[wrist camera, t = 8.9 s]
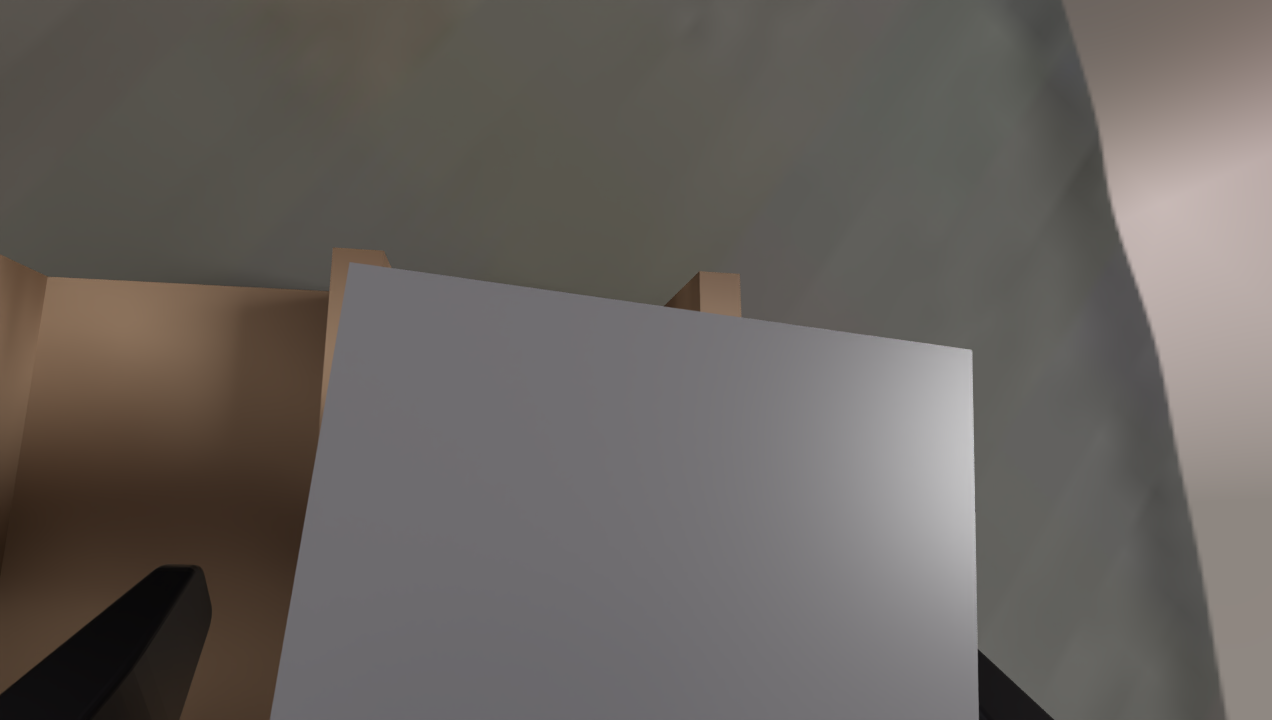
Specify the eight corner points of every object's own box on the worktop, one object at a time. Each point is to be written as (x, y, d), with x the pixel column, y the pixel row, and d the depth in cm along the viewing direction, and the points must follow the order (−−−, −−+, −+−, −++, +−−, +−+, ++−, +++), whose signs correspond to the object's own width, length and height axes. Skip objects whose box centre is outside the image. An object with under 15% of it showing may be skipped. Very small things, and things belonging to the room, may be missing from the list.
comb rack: (693, 750, 18) (759, 834, 14) (-569, 871, 13) (-1117, 1075, 8) (685, 318, 20) (739, 274, 16) (-397, 265, 15) (-762, 176, 10)
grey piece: (621, 634, 17) (984, 1044, 5) (420, 626, 16) (201, 1117, 4) (637, 440, 18) (972, 349, 6) (448, 421, 17) (348, 262, 5)
